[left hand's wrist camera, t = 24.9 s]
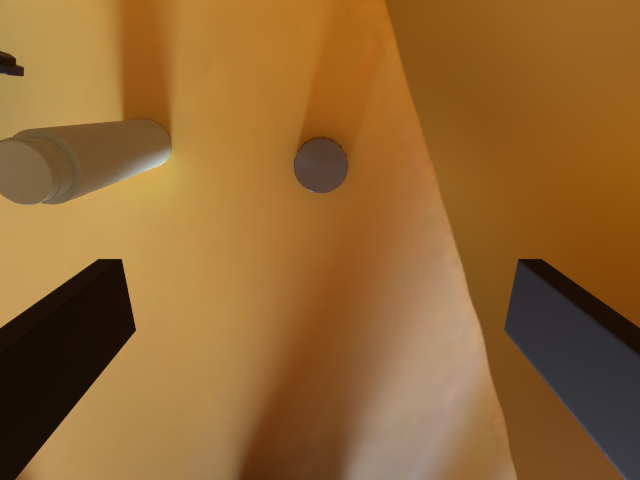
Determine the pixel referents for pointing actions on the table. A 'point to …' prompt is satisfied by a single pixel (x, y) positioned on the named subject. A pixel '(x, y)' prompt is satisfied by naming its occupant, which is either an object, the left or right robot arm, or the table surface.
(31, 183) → the jar
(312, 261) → the table surface
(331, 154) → the lid
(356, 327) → the table surface
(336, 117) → the table surface
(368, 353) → the table surface
